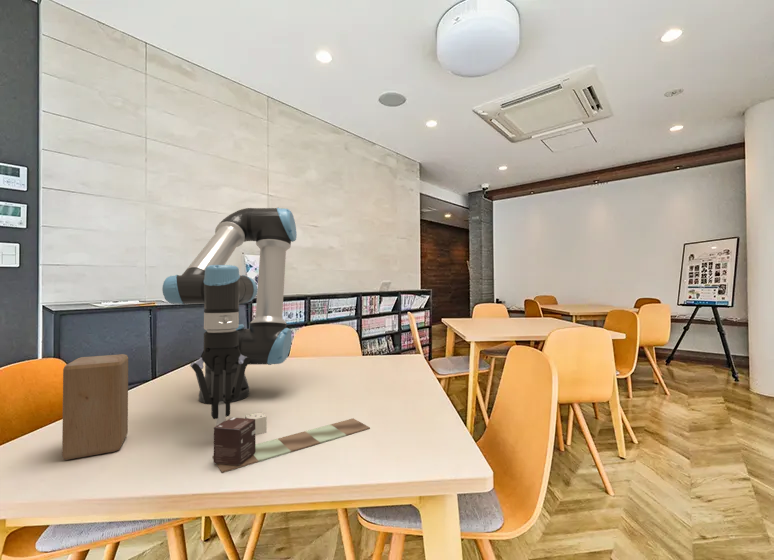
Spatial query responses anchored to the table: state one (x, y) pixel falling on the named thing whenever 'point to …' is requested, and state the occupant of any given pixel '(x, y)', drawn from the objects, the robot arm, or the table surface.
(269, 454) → the track
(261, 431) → the die
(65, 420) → the wooden block
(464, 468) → the table surface
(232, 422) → the box
